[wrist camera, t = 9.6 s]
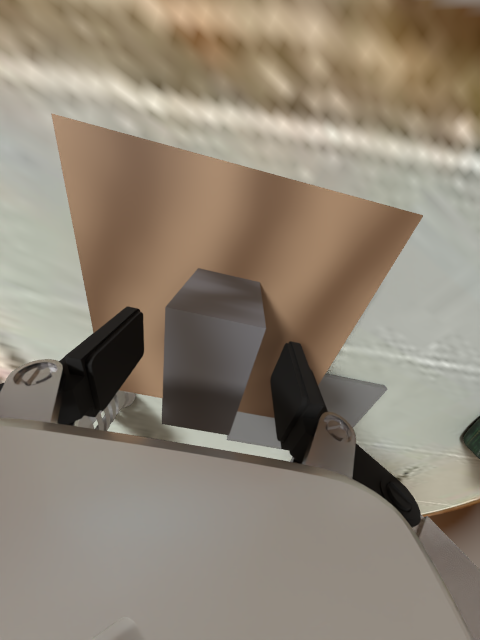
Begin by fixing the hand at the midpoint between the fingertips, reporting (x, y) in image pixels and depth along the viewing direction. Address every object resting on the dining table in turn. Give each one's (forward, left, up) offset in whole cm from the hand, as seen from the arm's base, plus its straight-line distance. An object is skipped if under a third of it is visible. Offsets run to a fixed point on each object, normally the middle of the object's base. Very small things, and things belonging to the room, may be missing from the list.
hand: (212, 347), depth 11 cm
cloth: (0, 0, -3) cm, 3 cm away
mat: (-14, +18, -10) cm, 25 cm away
